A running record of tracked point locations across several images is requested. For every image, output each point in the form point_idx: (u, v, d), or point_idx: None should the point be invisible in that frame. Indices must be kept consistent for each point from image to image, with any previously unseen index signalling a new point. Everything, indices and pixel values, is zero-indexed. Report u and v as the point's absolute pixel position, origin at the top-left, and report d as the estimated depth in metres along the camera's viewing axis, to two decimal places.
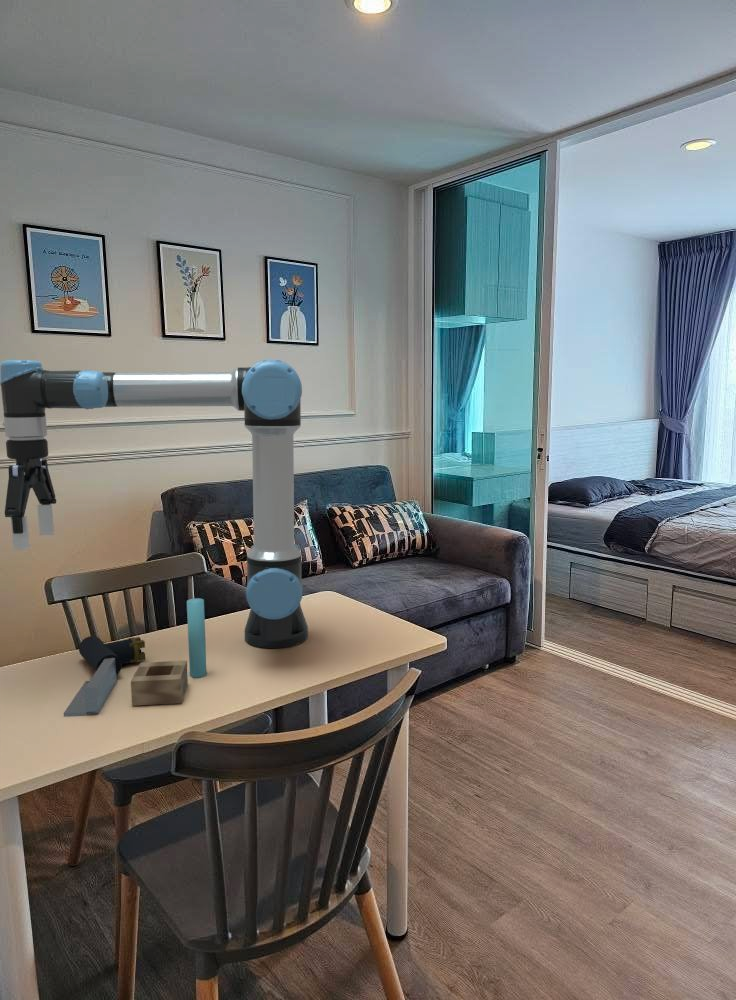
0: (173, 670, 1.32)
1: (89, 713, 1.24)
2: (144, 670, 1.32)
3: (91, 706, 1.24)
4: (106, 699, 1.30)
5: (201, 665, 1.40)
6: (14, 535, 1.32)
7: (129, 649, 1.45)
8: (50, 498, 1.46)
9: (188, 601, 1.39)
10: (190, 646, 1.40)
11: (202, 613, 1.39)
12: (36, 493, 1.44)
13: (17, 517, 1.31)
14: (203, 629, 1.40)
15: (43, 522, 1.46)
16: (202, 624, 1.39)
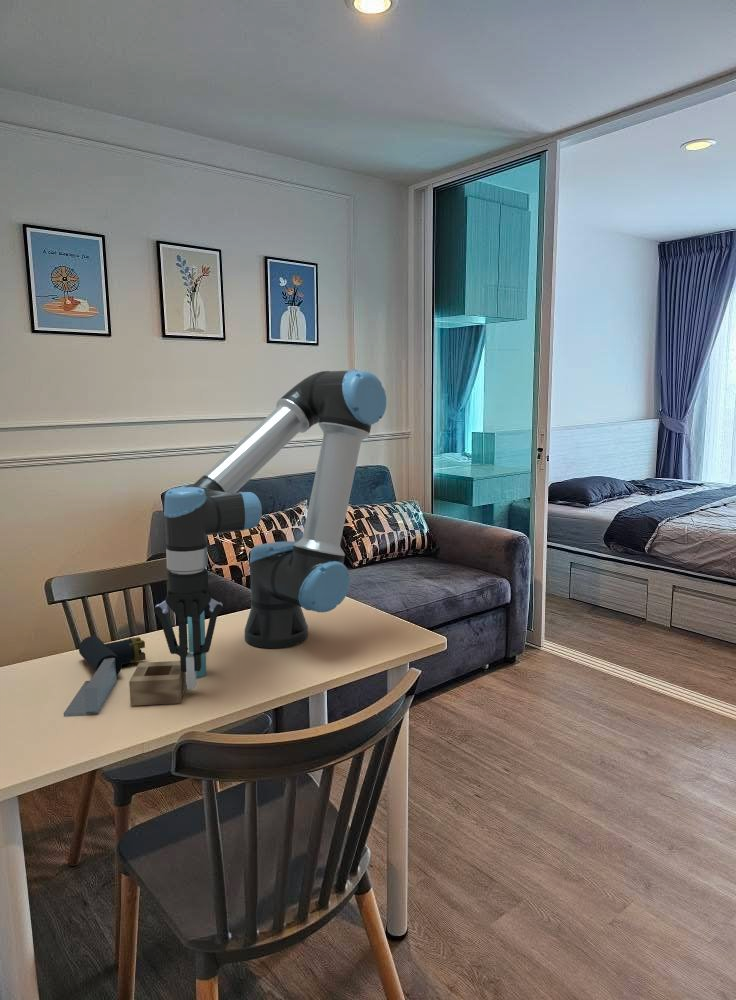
0: (172, 670, 1.32)
1: (89, 713, 1.24)
2: (143, 670, 1.32)
3: (91, 706, 1.24)
4: (106, 699, 1.30)
5: None
6: None
7: (129, 649, 1.45)
8: (196, 649, 1.31)
9: None
10: (190, 646, 1.40)
11: (202, 613, 1.39)
12: None
13: None
14: (203, 629, 1.40)
15: None
16: (202, 624, 1.39)
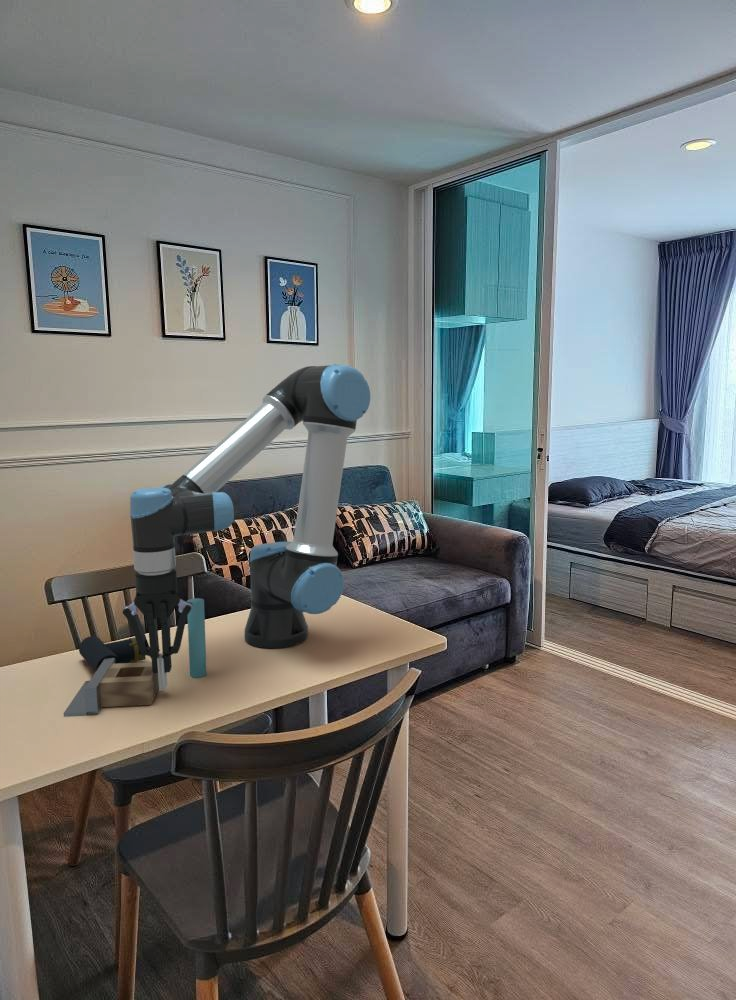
0: (144, 671, 1.31)
1: (89, 713, 1.24)
2: (115, 671, 1.31)
3: (91, 706, 1.24)
4: None
5: (201, 665, 1.40)
6: None
7: (129, 649, 1.45)
8: (165, 650, 1.30)
9: (188, 601, 1.39)
10: (190, 646, 1.40)
11: (202, 613, 1.39)
12: None
13: None
14: (203, 629, 1.40)
15: None
16: (202, 624, 1.39)
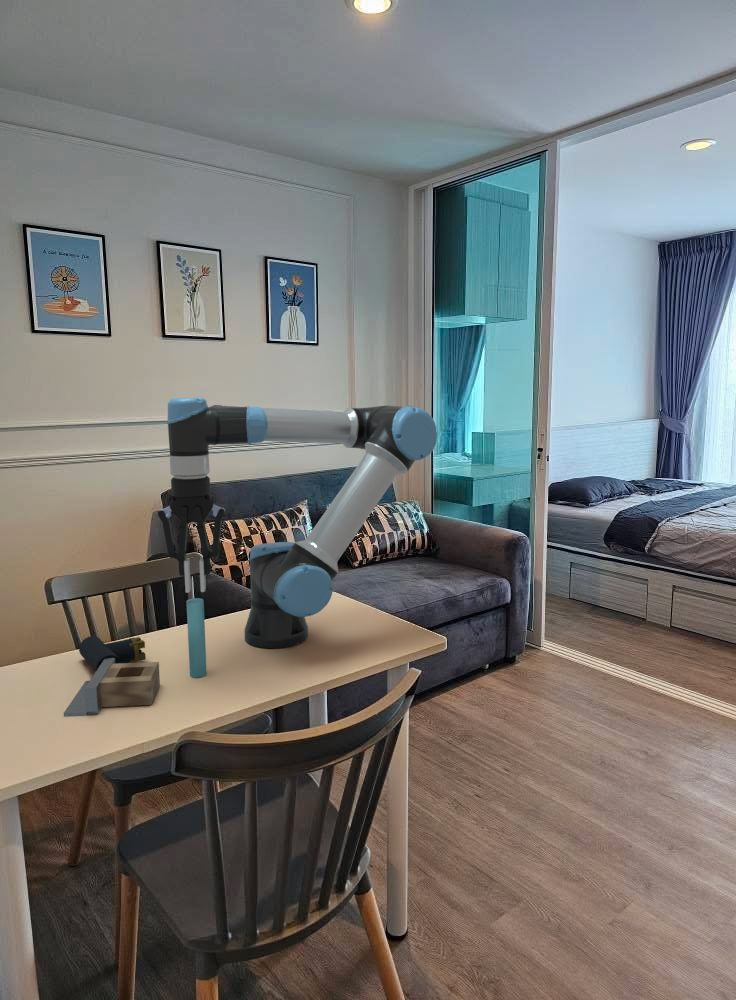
0: (144, 671, 1.31)
1: (89, 713, 1.24)
2: (115, 671, 1.31)
3: (91, 706, 1.24)
4: None
5: (201, 665, 1.40)
6: None
7: (129, 649, 1.45)
8: (205, 552, 1.37)
9: (188, 601, 1.39)
10: (190, 646, 1.40)
11: (202, 613, 1.39)
12: None
13: None
14: (203, 629, 1.40)
15: None
16: (202, 624, 1.39)
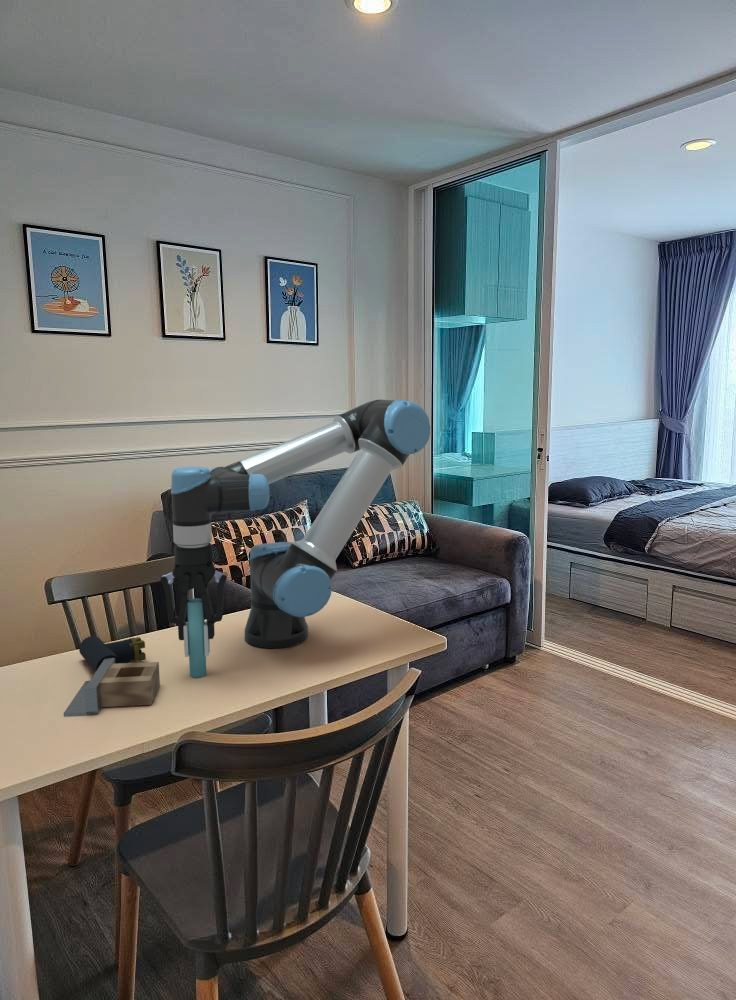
0: (144, 671, 1.31)
1: (89, 713, 1.24)
2: (115, 671, 1.31)
3: (91, 706, 1.24)
4: None
5: (201, 665, 1.40)
6: None
7: (129, 649, 1.45)
8: (209, 618, 1.39)
9: (188, 601, 1.39)
10: (190, 646, 1.40)
11: (202, 613, 1.39)
12: None
13: None
14: (203, 629, 1.40)
15: None
16: (202, 624, 1.39)
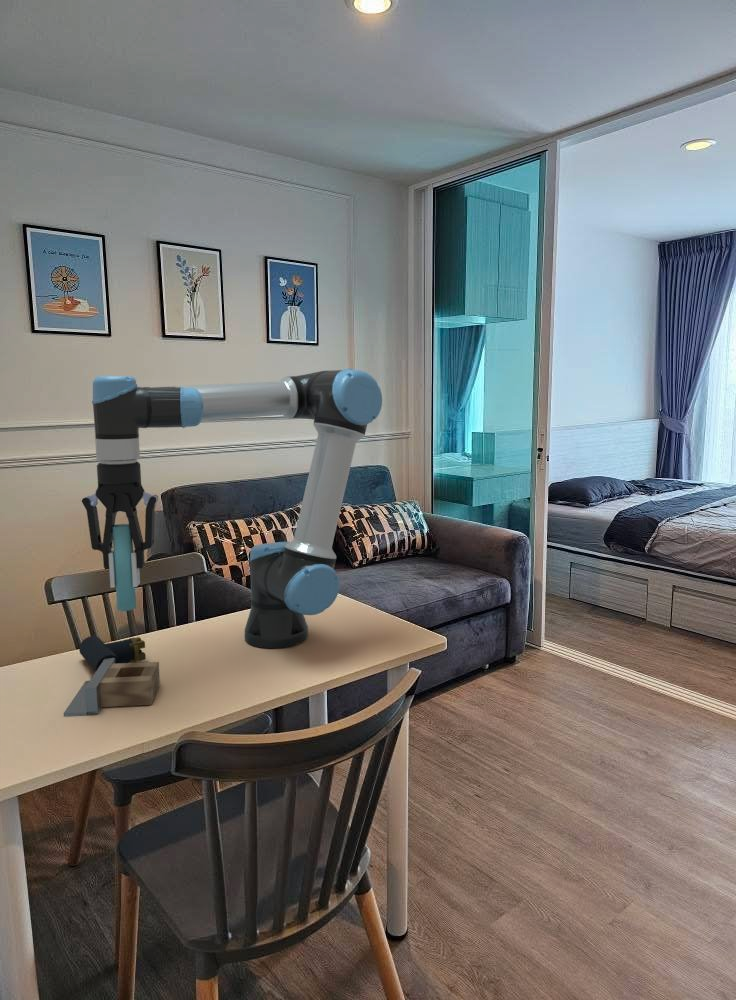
0: (144, 671, 1.31)
1: (89, 713, 1.24)
2: (115, 671, 1.31)
3: (91, 706, 1.24)
4: None
5: (129, 597, 1.27)
6: None
7: (129, 649, 1.45)
8: (137, 544, 1.26)
9: (114, 526, 1.26)
10: (116, 576, 1.27)
11: (129, 539, 1.26)
12: None
13: None
14: None
15: None
16: (129, 551, 1.26)
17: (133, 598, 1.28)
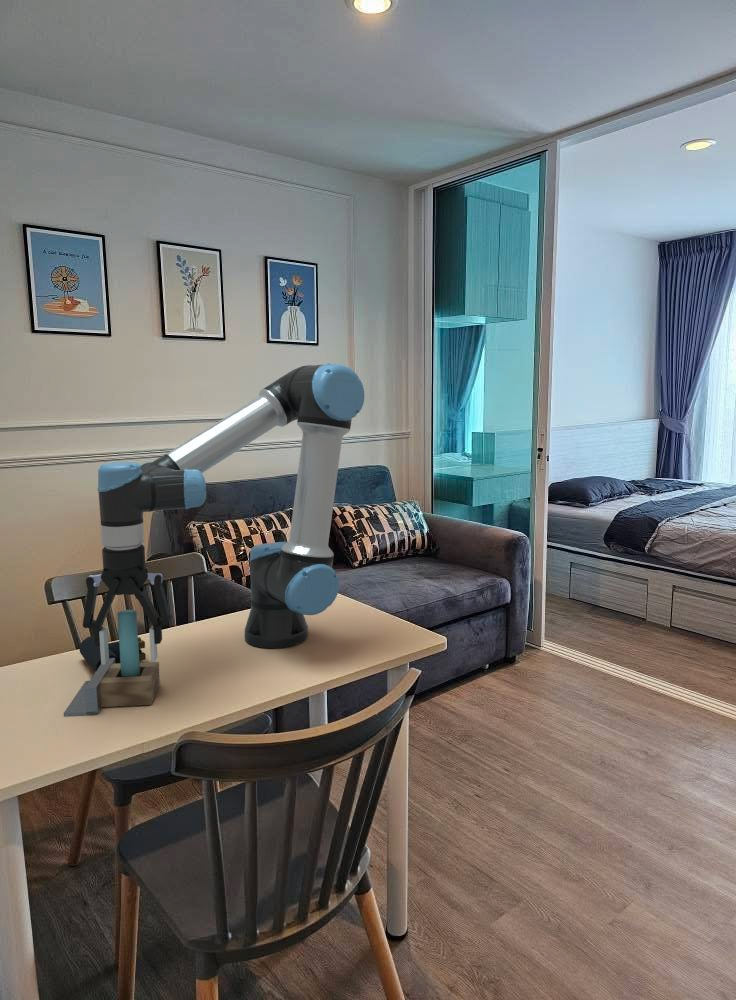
0: (144, 671, 1.31)
1: (89, 713, 1.24)
2: (115, 671, 1.31)
3: (91, 706, 1.24)
4: None
5: None
6: None
7: None
8: (154, 621, 1.29)
9: (119, 613, 1.29)
10: (121, 662, 1.29)
11: (134, 626, 1.29)
12: None
13: None
14: (136, 643, 1.30)
15: None
16: (134, 638, 1.29)
17: None
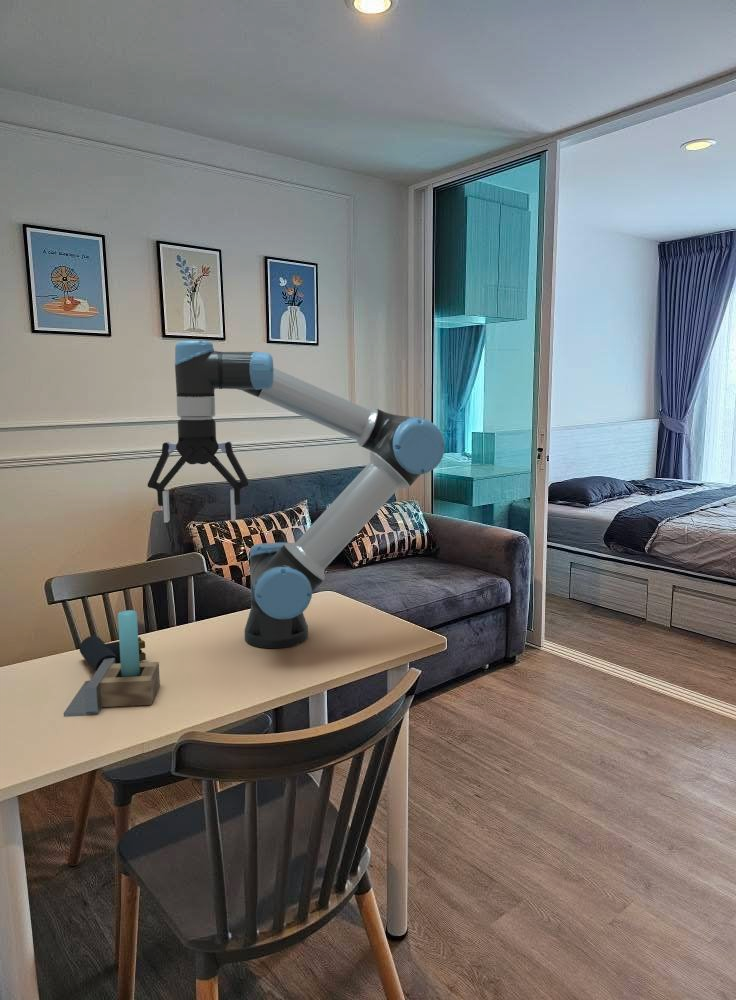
0: (144, 671, 1.31)
1: (89, 713, 1.24)
2: (115, 671, 1.31)
3: (91, 706, 1.24)
4: None
5: None
6: None
7: None
8: (233, 483, 1.40)
9: (119, 613, 1.29)
10: (122, 662, 1.29)
11: (134, 626, 1.29)
12: None
13: None
14: (136, 644, 1.30)
15: None
16: (134, 638, 1.29)
17: None
